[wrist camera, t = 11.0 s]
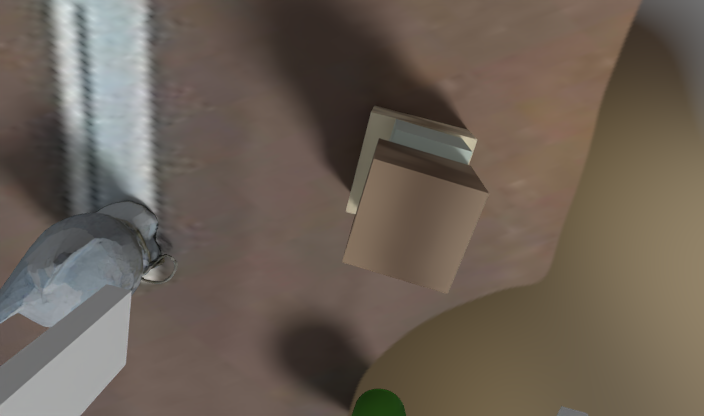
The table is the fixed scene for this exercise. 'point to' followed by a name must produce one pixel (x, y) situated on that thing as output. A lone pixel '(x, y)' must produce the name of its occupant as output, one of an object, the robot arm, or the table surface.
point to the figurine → (83, 262)
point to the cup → (379, 404)
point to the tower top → (430, 141)
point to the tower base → (382, 128)
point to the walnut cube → (415, 216)
